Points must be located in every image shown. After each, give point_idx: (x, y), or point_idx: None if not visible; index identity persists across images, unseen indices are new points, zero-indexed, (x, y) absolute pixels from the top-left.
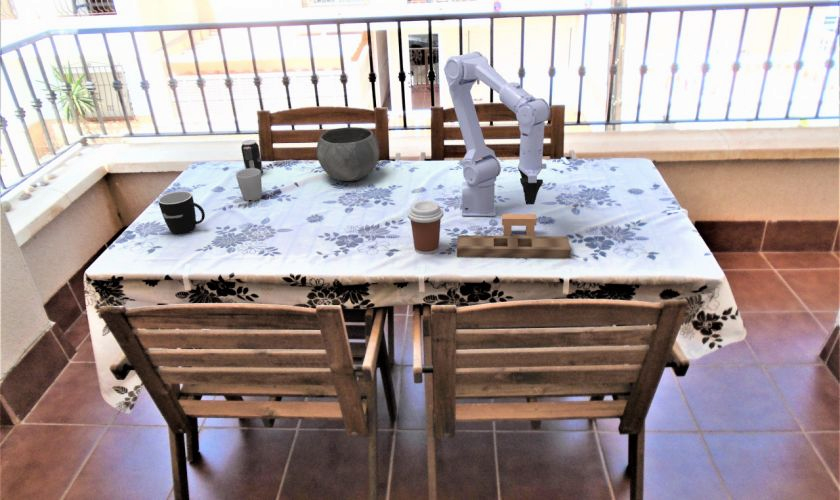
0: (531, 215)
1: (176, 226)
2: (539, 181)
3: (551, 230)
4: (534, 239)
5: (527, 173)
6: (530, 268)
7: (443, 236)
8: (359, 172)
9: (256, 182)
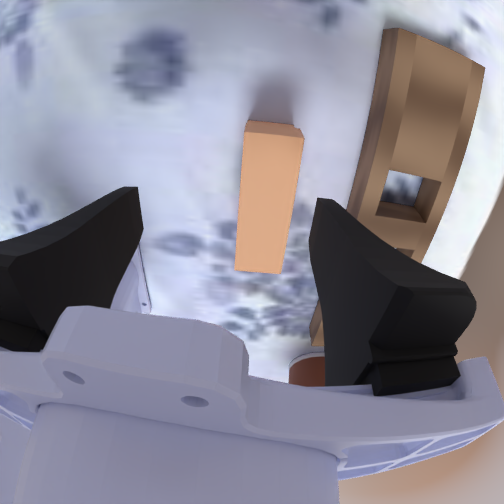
0: (260, 156)
1: None
2: (449, 323)
3: (248, 48)
4: (399, 160)
5: (417, 460)
6: (477, 190)
7: (265, 346)
8: None
9: None
